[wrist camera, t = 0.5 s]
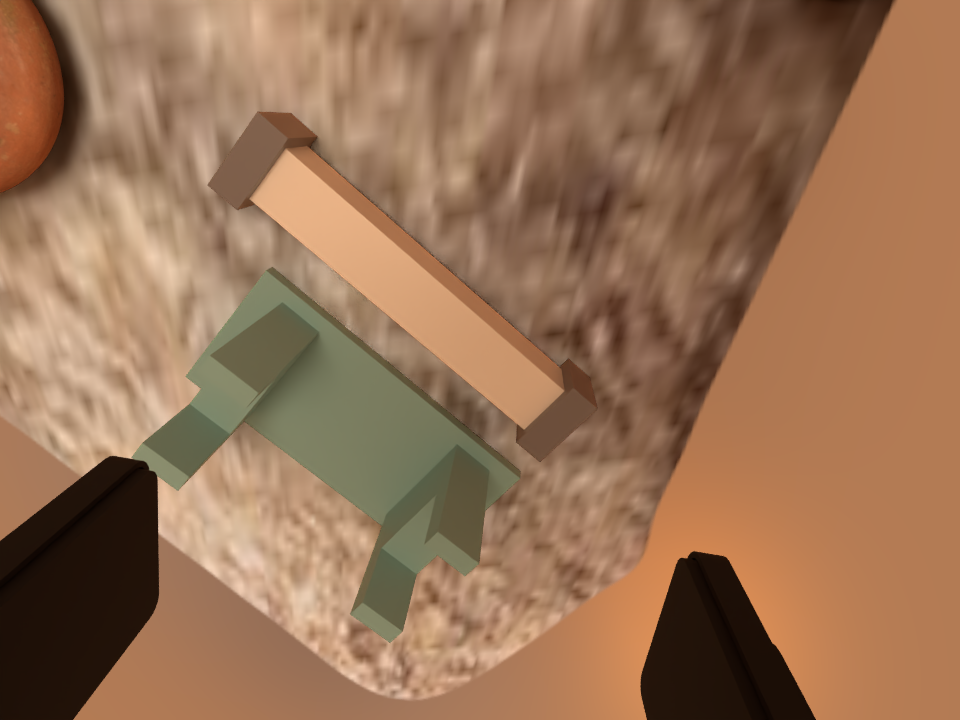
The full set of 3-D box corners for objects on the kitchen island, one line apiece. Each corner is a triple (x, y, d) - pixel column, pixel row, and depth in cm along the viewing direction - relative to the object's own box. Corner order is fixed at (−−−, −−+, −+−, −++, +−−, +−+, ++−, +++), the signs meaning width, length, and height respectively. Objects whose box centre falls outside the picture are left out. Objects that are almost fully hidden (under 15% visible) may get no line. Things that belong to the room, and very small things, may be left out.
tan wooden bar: (291, 113, 38) (257, 111, 33) (589, 377, 42) (597, 408, 38) (245, 177, 39) (207, 185, 34) (538, 426, 44) (539, 462, 39)
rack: (272, 266, 41) (186, 315, 31) (520, 471, 45) (518, 574, 35) (192, 371, 44) (90, 446, 34) (431, 553, 48) (405, 670, 38)
